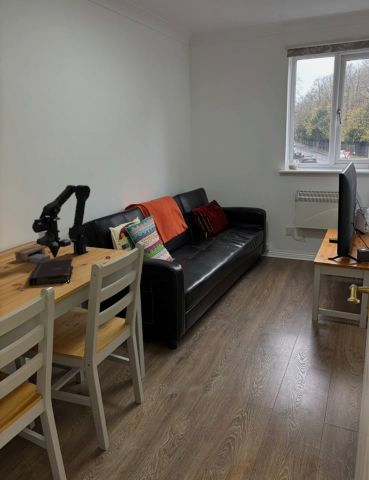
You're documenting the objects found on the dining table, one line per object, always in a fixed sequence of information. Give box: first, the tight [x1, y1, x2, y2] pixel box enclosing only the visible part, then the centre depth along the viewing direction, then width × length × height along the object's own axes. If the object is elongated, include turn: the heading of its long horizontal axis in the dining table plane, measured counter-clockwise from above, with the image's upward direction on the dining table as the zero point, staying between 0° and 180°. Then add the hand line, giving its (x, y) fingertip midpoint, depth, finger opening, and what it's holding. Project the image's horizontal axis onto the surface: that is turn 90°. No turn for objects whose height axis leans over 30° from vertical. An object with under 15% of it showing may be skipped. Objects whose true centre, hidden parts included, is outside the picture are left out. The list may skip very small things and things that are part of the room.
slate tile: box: [28, 253, 52, 264], centre depth 216 cm, size 12×8×2 cm, turn 68°
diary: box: [28, 258, 74, 287], centre depth 190 cm, size 19×25×5 cm
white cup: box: [37, 231, 47, 248], centre depth 244 cm, size 8×8×10 cm
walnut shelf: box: [14, 244, 46, 263], centre depth 219 cm, size 7×15×5 cm, turn 158°
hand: (54, 257), depth 213 cm, fingers closed
